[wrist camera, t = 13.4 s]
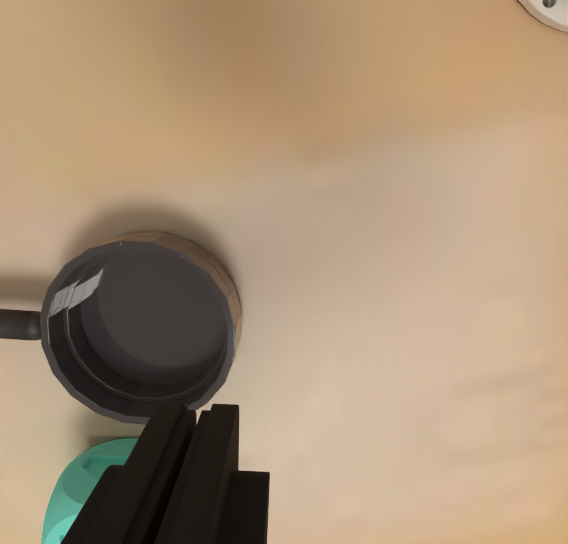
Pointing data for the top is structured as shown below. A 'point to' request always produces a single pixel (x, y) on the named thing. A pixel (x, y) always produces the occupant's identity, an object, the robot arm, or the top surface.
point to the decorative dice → (80, 485)
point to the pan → (141, 325)
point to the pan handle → (20, 324)
